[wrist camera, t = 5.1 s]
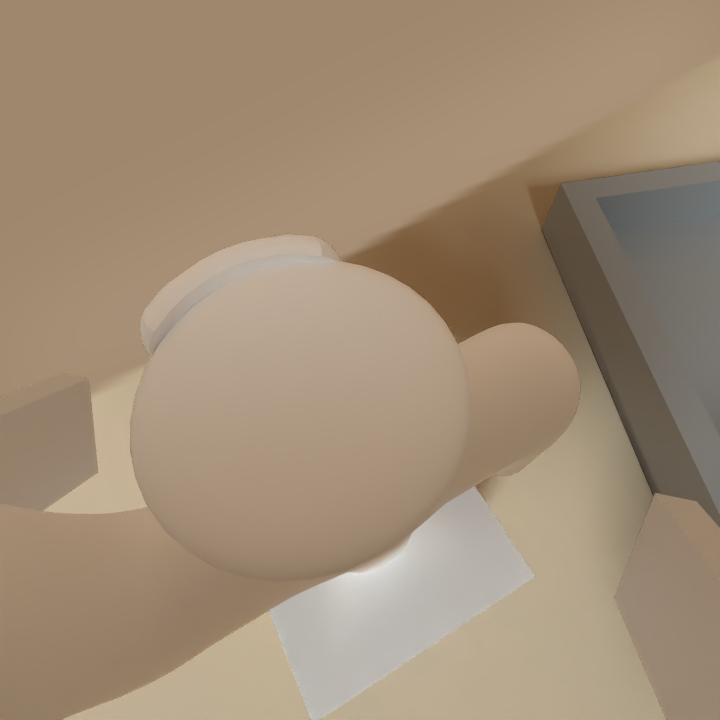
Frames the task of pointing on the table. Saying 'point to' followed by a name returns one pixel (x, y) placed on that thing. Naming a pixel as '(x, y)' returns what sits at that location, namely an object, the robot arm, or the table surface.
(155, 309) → the figurine
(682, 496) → the tray
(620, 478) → the table surface
